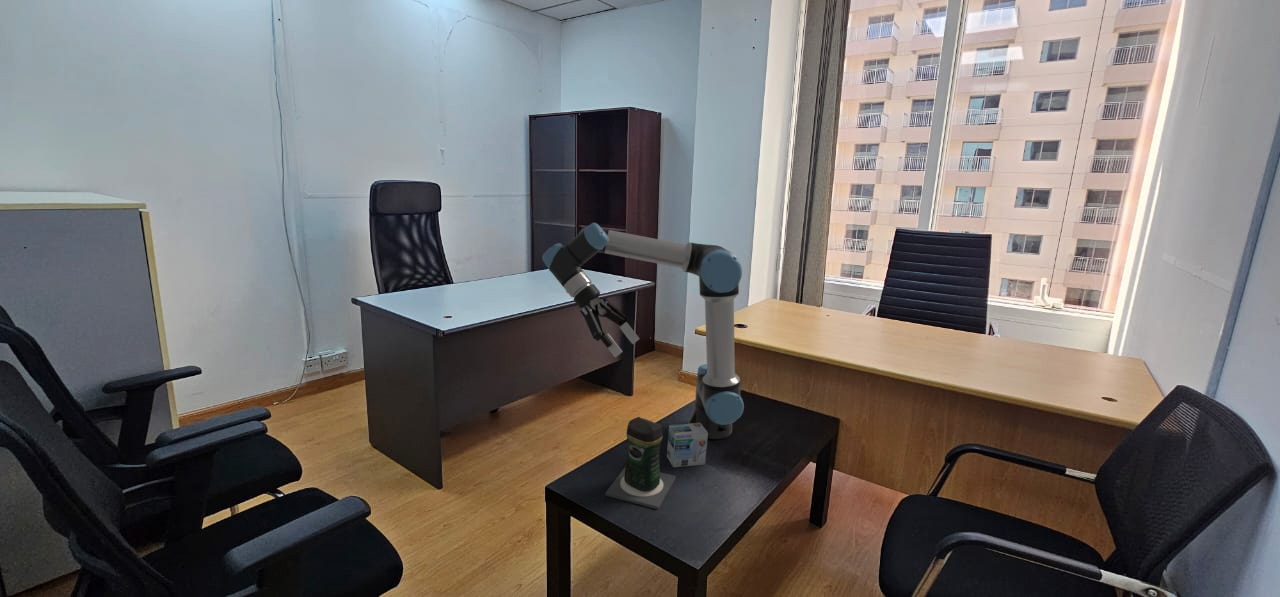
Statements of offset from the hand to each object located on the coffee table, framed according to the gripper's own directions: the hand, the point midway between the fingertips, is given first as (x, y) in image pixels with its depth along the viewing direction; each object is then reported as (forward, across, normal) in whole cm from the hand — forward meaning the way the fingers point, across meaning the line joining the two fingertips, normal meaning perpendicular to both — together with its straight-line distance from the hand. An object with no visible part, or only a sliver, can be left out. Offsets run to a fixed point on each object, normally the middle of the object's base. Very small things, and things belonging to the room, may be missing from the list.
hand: (628, 347), depth 153 cm
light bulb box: (+38, -8, -13) cm, 41 cm away
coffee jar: (+32, +11, -18) cm, 38 cm away
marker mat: (+32, +11, -18) cm, 39 cm away
